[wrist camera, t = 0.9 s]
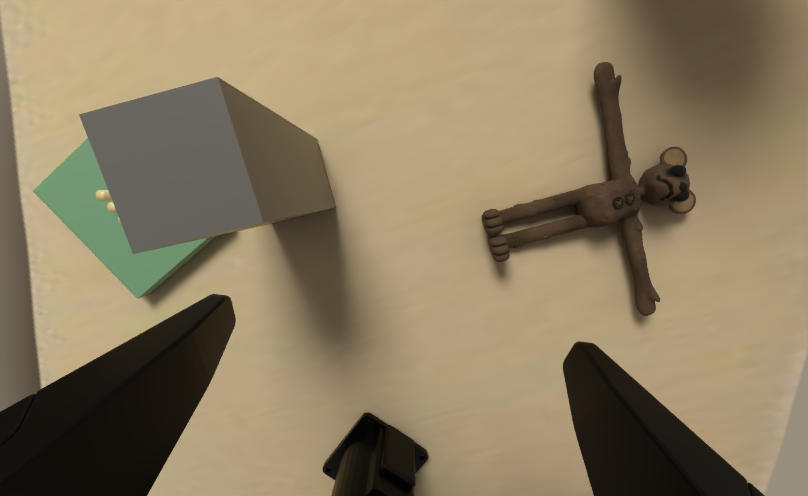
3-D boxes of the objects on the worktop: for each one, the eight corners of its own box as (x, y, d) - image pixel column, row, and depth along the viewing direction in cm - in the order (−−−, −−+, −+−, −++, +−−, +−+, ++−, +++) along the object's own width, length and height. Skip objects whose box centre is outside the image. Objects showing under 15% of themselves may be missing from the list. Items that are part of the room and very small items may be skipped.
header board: (234, 220, 24) (214, 223, 22) (149, 293, 25) (121, 305, 23) (136, 109, 23) (102, 99, 20) (51, 191, 24) (8, 190, 21)
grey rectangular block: (335, 207, 24) (263, 221, 12) (271, 223, 24) (132, 254, 12) (316, 138, 23) (217, 76, 11) (250, 156, 24) (79, 114, 11)
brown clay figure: (456, 102, 20) (711, 17, 18) (453, 116, 25) (659, 48, 22) (521, 360, 23) (749, 313, 21) (508, 333, 27) (697, 291, 25)
